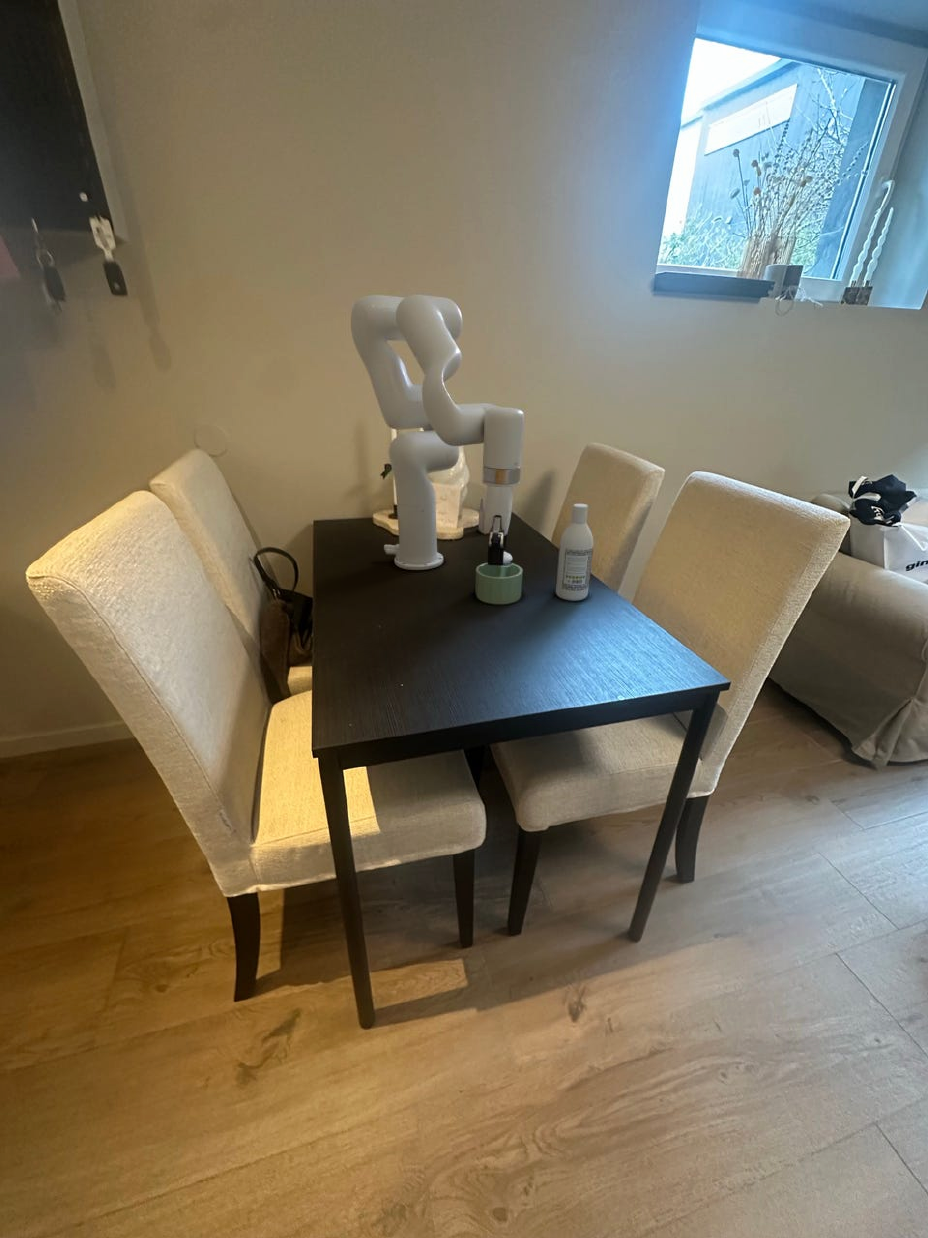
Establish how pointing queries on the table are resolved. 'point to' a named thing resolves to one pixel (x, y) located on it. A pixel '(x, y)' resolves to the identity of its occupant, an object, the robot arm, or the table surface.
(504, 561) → the milkshake
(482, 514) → the white and pink carton
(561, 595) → the bath foam
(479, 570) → the cup
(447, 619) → the table surface
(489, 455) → the robot arm
